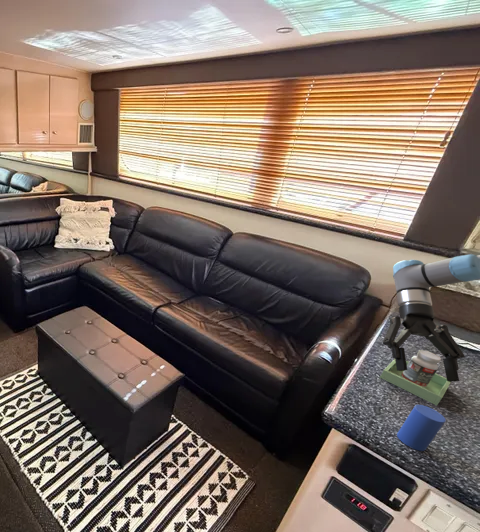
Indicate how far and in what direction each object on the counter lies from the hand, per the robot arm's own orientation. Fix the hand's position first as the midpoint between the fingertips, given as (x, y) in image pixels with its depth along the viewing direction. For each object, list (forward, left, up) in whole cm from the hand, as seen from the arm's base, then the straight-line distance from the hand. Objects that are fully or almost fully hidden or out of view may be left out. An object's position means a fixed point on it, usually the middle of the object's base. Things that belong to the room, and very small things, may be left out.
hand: (427, 375), depth 93 cm
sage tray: (+2, -2, -5) cm, 5 cm away
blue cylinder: (-4, +30, -5) cm, 31 cm away
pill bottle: (+2, -2, -5) cm, 5 cm away
